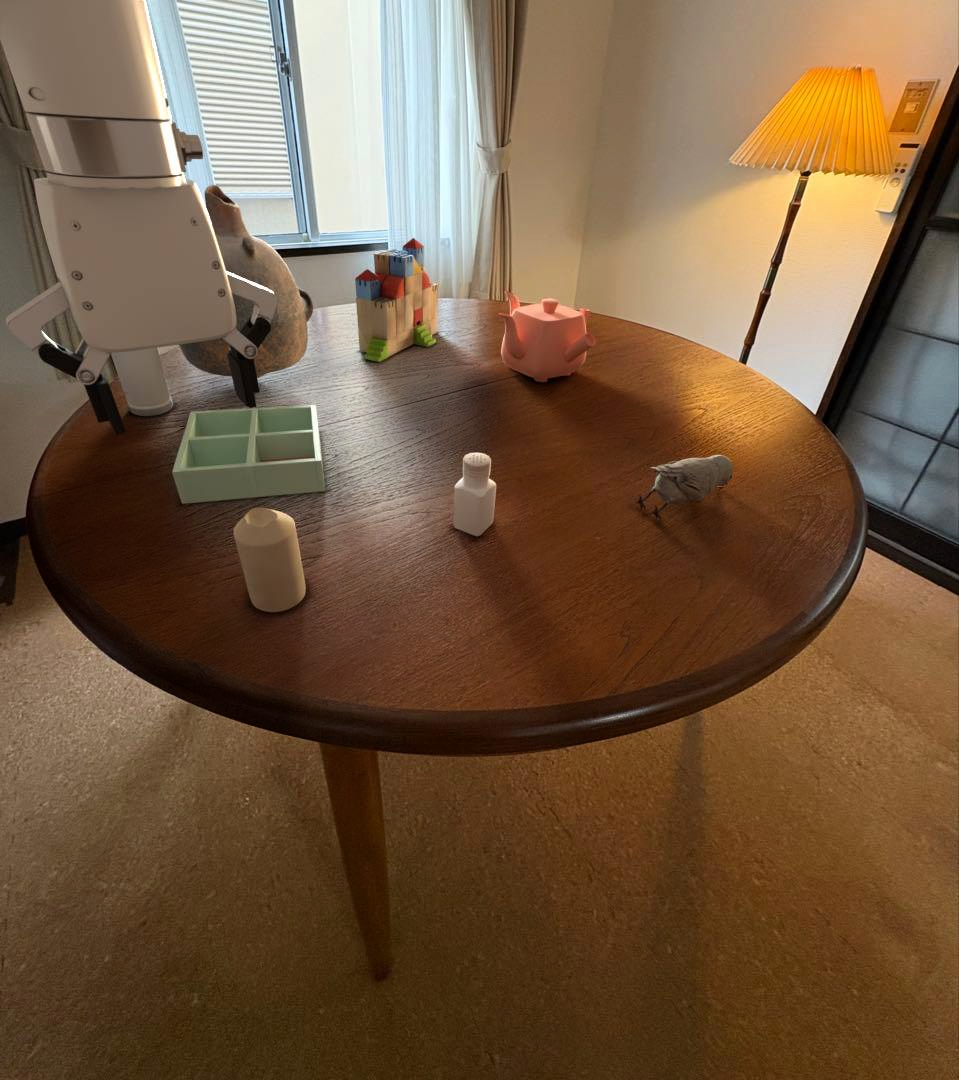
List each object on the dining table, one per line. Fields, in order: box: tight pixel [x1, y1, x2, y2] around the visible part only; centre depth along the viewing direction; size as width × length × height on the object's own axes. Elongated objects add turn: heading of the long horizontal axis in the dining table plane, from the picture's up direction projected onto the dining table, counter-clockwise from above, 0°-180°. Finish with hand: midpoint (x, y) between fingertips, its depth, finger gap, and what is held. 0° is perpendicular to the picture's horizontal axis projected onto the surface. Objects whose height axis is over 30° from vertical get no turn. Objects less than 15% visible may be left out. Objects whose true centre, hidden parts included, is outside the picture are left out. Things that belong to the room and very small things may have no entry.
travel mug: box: [110, 348, 174, 417], centre depth 84 cm, size 6×7×20 cm
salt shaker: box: [452, 452, 497, 537], centre depth 67 cm, size 4×4×10 cm
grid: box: [171, 404, 326, 505], centre depth 77 cm, size 17×17×5 cm
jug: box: [178, 184, 314, 379], centre depth 93 cm, size 24×21×30 cm
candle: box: [233, 507, 307, 613], centre depth 55 cm, size 6×6×10 cm
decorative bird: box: [633, 454, 734, 522], centre depth 75 cm, size 5×16×7 cm, turn 122°
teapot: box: [498, 290, 597, 383], centre depth 110 cm, size 18×18×14 cm
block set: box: [354, 237, 439, 363], centre depth 118 cm, size 28×14×19 cm, turn 155°
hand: (185, 414), depth 45 cm, fingers open, 9 cm apart
